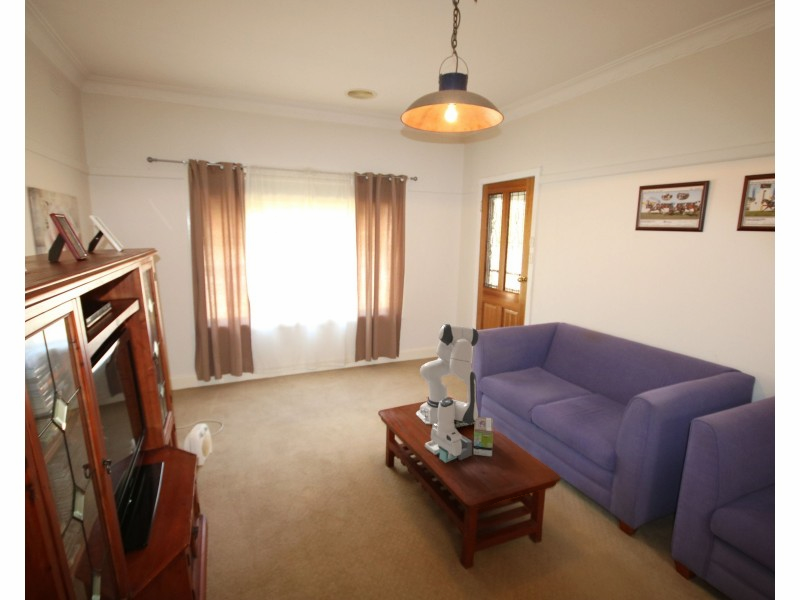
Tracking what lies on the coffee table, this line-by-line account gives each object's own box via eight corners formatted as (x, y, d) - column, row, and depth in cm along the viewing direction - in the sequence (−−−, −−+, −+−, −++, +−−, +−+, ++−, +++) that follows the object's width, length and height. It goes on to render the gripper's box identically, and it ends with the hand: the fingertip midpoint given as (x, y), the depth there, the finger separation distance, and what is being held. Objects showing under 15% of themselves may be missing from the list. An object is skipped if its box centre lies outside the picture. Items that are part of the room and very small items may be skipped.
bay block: (447, 451, 212) (448, 437, 211) (458, 446, 217) (459, 432, 215) (460, 460, 204) (461, 445, 203) (471, 455, 209) (472, 441, 207)
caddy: (439, 458, 205) (439, 446, 204) (451, 453, 210) (451, 441, 208) (445, 462, 202) (445, 450, 200) (457, 457, 206) (457, 445, 205)
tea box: (492, 457, 207) (493, 431, 204) (473, 454, 209) (474, 428, 206) (491, 442, 222) (493, 417, 219) (473, 440, 224) (474, 415, 221)
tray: (424, 447, 216) (424, 443, 215) (439, 441, 222) (439, 437, 221) (434, 454, 209) (435, 450, 208) (450, 448, 215) (450, 444, 214)
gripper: (428, 424, 208) (427, 448, 211) (454, 441, 192) (453, 467, 194) (437, 420, 212) (436, 444, 214) (464, 437, 195) (463, 462, 198)
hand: (445, 455), depth 204 cm, fingers closed on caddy, 5 cm apart
